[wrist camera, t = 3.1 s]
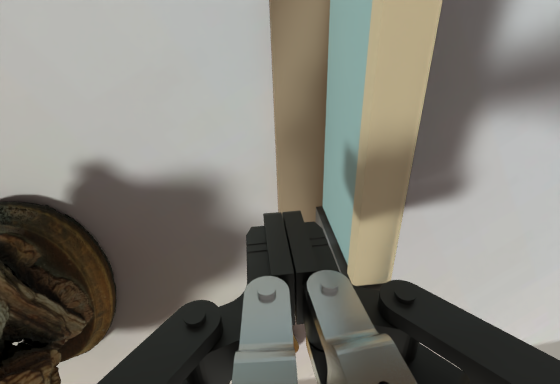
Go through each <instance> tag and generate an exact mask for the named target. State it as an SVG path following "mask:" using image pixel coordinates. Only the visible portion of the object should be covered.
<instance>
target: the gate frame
mask: <svg viewBox="0 0 560 384" xmlns="http://www.w3.org/2000/svg"><path fill="white" fill-rule="evenodd" d="M269 5H270V28H271V51H272V74H273V98H274V121H275V144H276V167H277V190H278V212H281V213H282V212H288V211H299V210H300V211H301V214H302V217H303V220H304V222H313V221H314V222H316V223H317V224H318V225H319V226H320V227H321V228H322V229H323V231H324V234H325V236H326V239H327V241H328V244H329V246H330V249H331V251H332V254H333V256H334V259H335V261H336V264H337V266H338V269H339V271H340V273H341V274H343V275H344V276H346V277H347V278H348V279H349V281H350V278H349V276H348V274H347V269H348V265H347V263H346V260H345V258H344V256H343V253H342V251H341V249H340V246H339V244H338V242H337V239H336V237H335V235H334V232H333V230H332V228H331V225H330V223H329V221H328V218H327V216H326V214H325V211H324V209H323V180H324V153H325V126H326V99H327V72H328V45H329V18H330V0H269ZM350 282H351V281H350ZM351 284H352V283H351ZM383 284H385V283H381V284H371V285H361V286H358V287H361V288H366V289H372V290H379V291H380V289H381V287H382V285H383Z"/></svg>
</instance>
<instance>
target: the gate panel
mask: <svg viewBox="0 0 560 384" xmlns="http://www.w3.org/2000/svg"><path fill="white" fill-rule="evenodd" d="M442 1H443V0H330V18H329V45H328V72H327V99H326V126H325V153H324V180H323V209H324V211H325V214H326V216H327V218H328V221H329V223H330V225H331V228H332V230H333V232H334V235H335V237H336V239H337V242H338V244H339V246H340V249H341V251H342V253H343V256H344V258H345V260H346V263H347V265H348V269H347V274H348V276H349V278H350V281H351V283H352V284H353V285H355V286H361V285H371V284H381V283H386V282H388V281H391V276H392V271H393V265H394V260H395V254H396V249H397V244H398V238H399V233H400V228H401V222H402V217H403V211H404V206H405V201H406V195H407V190H408V184H409V179H410V174H411V168H412V163H413V157H414V152H415V147H416V141H417V136H418V130H419V125H420V120H421V114H422V109H423V103H424V98H425V93H426V87H427V82H428V76H429V71H430V66H431V60H432V55H433V49H434V44H435V39H436V33H437V28H438V22H439V17H440V12H441V6H442Z"/></svg>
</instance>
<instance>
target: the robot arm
mask: <svg viewBox="0 0 560 384" xmlns="http://www.w3.org/2000/svg"><path fill="white" fill-rule="evenodd" d="M263 215H264V226H258V227H251V229H250V230H249V232H248V234H247V235H246V244H247V286H246V288H245V291H244V292H243V294H242V295H241V296H240V297H239V298H237V299H236V300H234V301H233V302H230V303H228V304H225V305H223V306H220V307H218V306H217V305H216V304H214V303H213V302H210V301H207V300H197V301H193V302H190V303H187V304H185V305H184V306H182V307H181V308H180V309H178V310H177V311H176V312H175V313H174V314H173V315H172V316H171V317H170V318H169V319H167V320H166V321H165V322H164V323H163V324H162V325H161V326H160V327H159V328H158V329H156V330H155V331H154V332H153V333H152V334H151V335H150V336H149V337H148V338H147V339H145V340H144V341H143V342H142V343H141V344H140V345H139V346H138V347H137V348H136V349H134V350H133V351H132V352H131V353H130V354H129V355H128V356H127V357H126V358H125V359H124V360H122V361H121V362H120V363H119V364H118V365H117V366H116V367H115V368H114V369H113V370H111V371H110V372H109V373H108V374H107V375H106V376H105V377H104V378H103V379H102V380H100V381H99V382H98V383H97V384H229V383H230V381H231V380H232V384H298V380H297V368H296V356H295V348H294V343H293V330H292V325H295V317H296V322H297V324H304V325H305V330H306V346H307V350H308V353H309V357H310V360H311V364H312V367H313V371H314V374H315V378H316V381H317V384H560V360H557V359H556V358H554V357H552V356H550V355H548V354H546V353H544V352H543V351H541V350H538V349H537V348H535V347H533V346H531V345H529V344H527V343H525V342H523V341H522V340H520V339H518V338H516V337H514V336H512V335H510V334H508V333H506V332H504V331H503V330H501V329H499V328H497V327H495V326H493V325H491V324H489V323H487V322H485V321H483V320H482V319H480V318H478V317H476V316H474V315H472V314H470V313H468V312H466V311H464V310H463V309H461V308H459V307H457V306H455V305H453V304H451V303H449V302H447V301H445V300H443V299H442V298H440V297H438V296H436V295H434V294H432V293H430V292H428V291H426V290H424V289H423V288H421V287H419V286H417V285H415V284H413V283H410V282H407V281H403V280H392V281H388V282H386V283H385V284H383V285H382V287H381V289H380V291H379V290H372V289H366V288H361V287H358V286H355V285H353V284H351V282H350V281H349V279H348V278H347V277H346V276H344V275H343V274H341V273H340V271H339V269H338V266H337V264H336V261H335V259H334V256H333V254H332V251H331V249H330V246H329V244H328V241H327V239H326V236H325V234H324V231H323V229H322V228H321V227H320V226H319V225H318V224H317V223H316V222H314V221H313V222H304V220H303V217H302V214H301V211H300V210H299V211H288V212H282V213H281V212H277V213H265V214H263ZM420 343H422V344H423V345H425V346H426V347H428V348H429V349H431V350H432V351H434V352H436V353H437V354H439V355H440V356H442V357H443V358H445V359H446V360H448V361H450V362H451V363H453V364H454V365H456V366H457V367H459V368H460V369H461V370H460V369H459V368H457V367H455V366H454V365H453V364H451V363H450V362H448V361H446V360H445V359H443V358H442V357H440V356H439V355H437V354H436V353H434V352H432V351H431V350H429V349H428V348H426V347H425V346H423V345H422V344H420ZM462 370H463V371H462Z"/></svg>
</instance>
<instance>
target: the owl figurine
mask: <svg viewBox="0 0 560 384" xmlns="http://www.w3.org/2000/svg"><path fill="white" fill-rule="evenodd" d="M4 264H5V265H6V264H7V265H8V267H10V268H11V269H12V270H13V271H15V275H16V276H17V277H18V280H17V278H16V276H14V275H13V274H12V271H11V270H10V268H8V267H6V266H4ZM19 279H20V280H19ZM21 280H22V281H23V282H25V283H27V284H28V285H29V287H28V286H26V285H24V284H23V283H22V282H21ZM115 307H116V288H115V283H114V280H113V272H112V269H111V266H110V263H109V262H108V259H107V257H106V256H105V254H104V252H103V251H102V250H101V248H100V247H99V245H98V243H97V242H96V241H95V240H94V239H93V237H92V236H91V235H90V234H89V233H88V232H87V231H86V230H85V229H84V228H83V227H82V226H81V225H80V224H78V223H77V222H76V221H75V220H74V219H73V218H70V217H69V216H67V215H62V214H60V213H57V212H56V211H55V210H54V209H51V208H49V206H48V205H45V206H40V205H37V204H30V203H21V202H0V384H61V379H60V376H59V372H58V367H56V366H57V365H58V364H59V362H62V361H66V360H68V359H70V358H73V357H75V356H79V355H80V354H83V353H86V352H87V351H90V350H91V349H92V348H94V346H96V345H97V344H98V343H99V342H100V341H101V340H102V338H103V337H104V336H105V334H106V332H107V331H108V329H109V327H110V325H111V323H112V320H113V317H114V313H115ZM23 338H27V339H32V341H37V340H38V341H39V342H41V343H40V344H42V345H43V346H40V347H36V346H32V345H29V344H26V343H25V342H21V343H18V345H17V346H15V345H13V344H12V343H14V342H20V341H22V339H23ZM43 342H44V343H43ZM32 343H33V342H32ZM32 343H31V344H32ZM36 343H37V342H36Z"/></svg>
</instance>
